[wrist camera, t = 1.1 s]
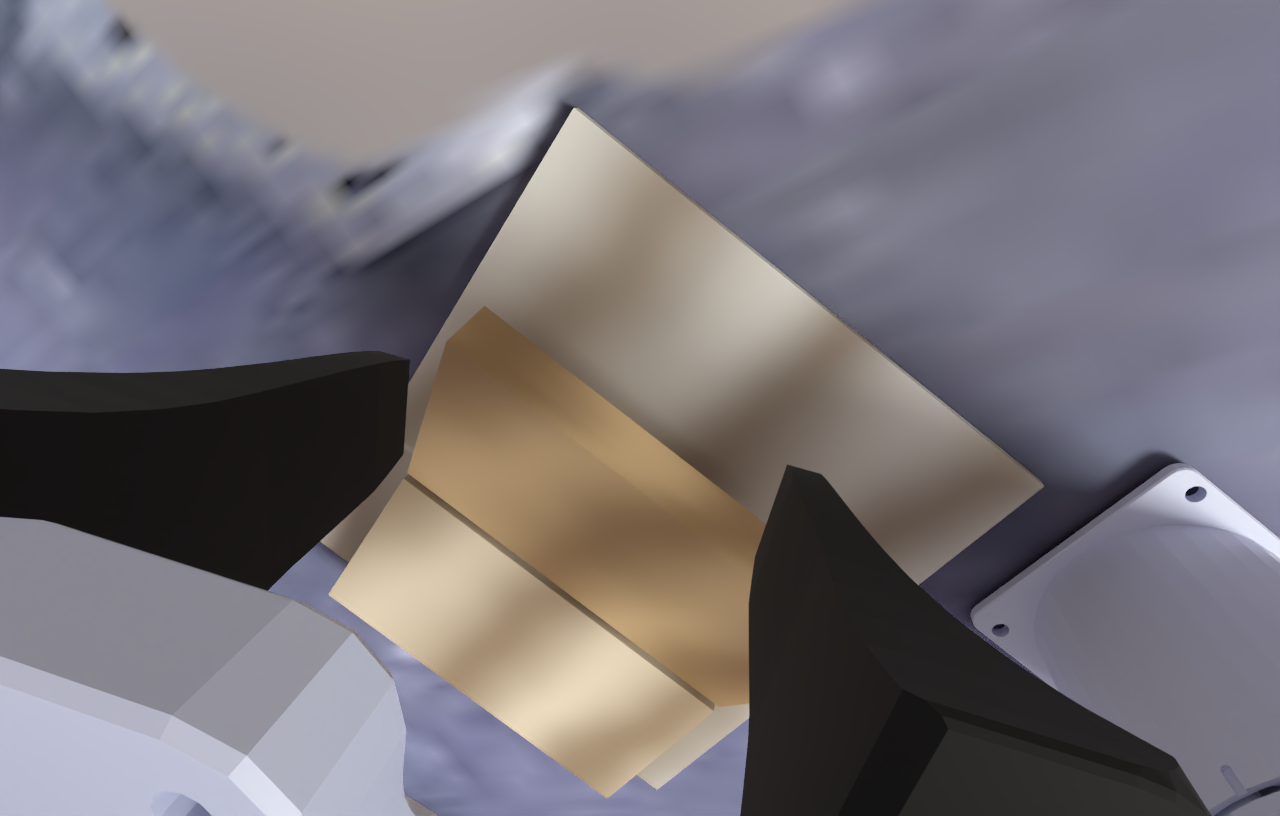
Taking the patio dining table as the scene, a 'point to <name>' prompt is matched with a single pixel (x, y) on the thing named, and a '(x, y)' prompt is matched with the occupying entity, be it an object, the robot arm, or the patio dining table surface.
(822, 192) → the patio dining table surface
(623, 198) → the floor section
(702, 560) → the plank
